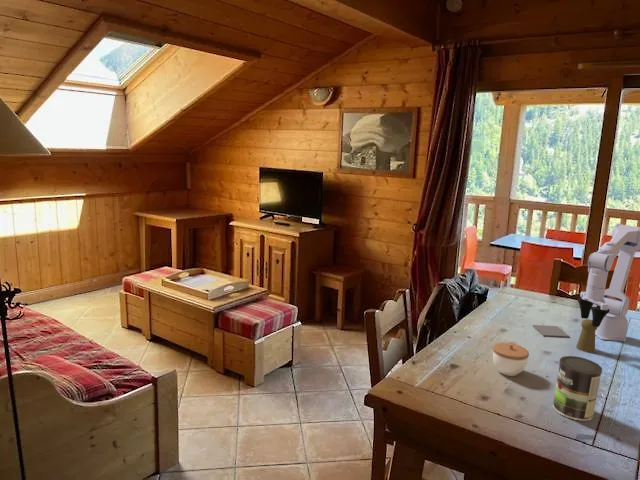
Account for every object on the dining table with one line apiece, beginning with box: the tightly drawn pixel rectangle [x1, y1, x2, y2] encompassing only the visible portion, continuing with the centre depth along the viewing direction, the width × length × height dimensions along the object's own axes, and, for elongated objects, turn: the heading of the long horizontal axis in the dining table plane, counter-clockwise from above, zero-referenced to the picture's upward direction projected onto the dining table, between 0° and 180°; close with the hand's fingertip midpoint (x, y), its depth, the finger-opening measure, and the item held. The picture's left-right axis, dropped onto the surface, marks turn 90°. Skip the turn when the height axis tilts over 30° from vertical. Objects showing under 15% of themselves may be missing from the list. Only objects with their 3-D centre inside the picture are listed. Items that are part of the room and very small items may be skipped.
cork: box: [576, 318, 598, 354], centre depth 173 cm, size 6×6×11 cm
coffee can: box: [552, 355, 603, 422], centre depth 131 cm, size 10×10×14 cm
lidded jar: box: [492, 342, 530, 377], centre depth 153 cm, size 11×11×9 cm
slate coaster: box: [532, 324, 570, 339], centre depth 189 cm, size 10×10×1 cm
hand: (590, 322), depth 172 cm, fingers open, 7 cm apart
